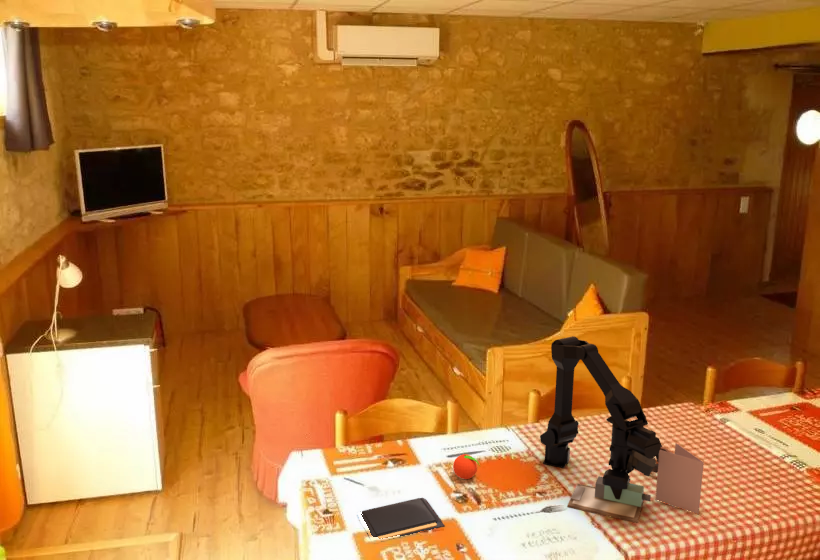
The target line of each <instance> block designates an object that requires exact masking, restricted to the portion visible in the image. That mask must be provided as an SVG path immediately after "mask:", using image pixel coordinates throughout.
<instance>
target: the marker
mask: <svg viewBox="0 0 820 560" xmlns="http://www.w3.org/2000/svg"><path fill="white" fill-rule="evenodd" d="M602 483H603V476H598V477H597V479H596V481H595V485H594V487H595V497H598V498H602V499H607V500H611V501H616V502H620V503H625V504H629V505H634V506H638V507H641V505H642V501H643V500H644V501H647V502H651V498H652V495H651V494H648V493H645V492H644V491H645V486H644V485H640V484H636V483H631V482H629V485H628V488H627V489H623V490H622V493H621V497H620V500H618V499H615V497H614V494H613V492H612V490H611V488H610V486H606V485H604V484H602ZM642 506H643V505H642Z"/></svg>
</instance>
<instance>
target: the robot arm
mask: <svg viewBox="0 0 820 560" xmlns="http://www.w3.org/2000/svg"><path fill="white" fill-rule="evenodd" d="M550 347H551V360H552V362H553V363H554V365H555V366H556V373H555V374H556V377H555V392H554V393H555V394H554V408H553V409H554V411H553V414H552V415H551V417H550V418H549V420H548V424H547V428H546V431H545V432H543V433H542V434H540V436H539V439H540V443H541V444H543V446H545V447H544V460H542V464H543V465H547V466H552V467H556V468H557V467H558V468H561V469H562V468H563V469H564V468H566V466H567V464H569V462H570V461H571V459H570V455H571V448H570V447H569V444H570V443H573V442H574V441H575V439H576V438H577V435H578V434H579V424H580V423H579V421H578V420H576V419H575V417H574V415H573V396H574V381H575V370H576V369H575V368H576V366H577V365H578V363H579V362H580V360H581V361H582V363H583V364H584V366H585V367H586V369H587V370H588V372H589V374H590V375H591V376H592V378H593V380H594V381H595V383H596V384H597V386H598V387H599V389H600V390H601V392H602V393H603V395H604V405H605V407H606V409H607V411H608V413H609V415H610V416H609V417H607V418H606V422H608V423H610V424H612V425H611V426H612V427H611V444H610V446H609V452H610V456H609V457H610V458H609V460H608V466H611V468H608V469H606V470H605V471H604V473H603V476H602V477H603V483H602V484H604V485H606V486H610V488H611V490H612V492H613V494H614V497H615V499H618V500H620V497H621V493H622V490H623V489H627V488H628V485H629V483H631V478H630V475H629V474H630V473H631V472H633V471H634V470H636V471H638V472H639V473H641V474H643V476H645V477H650V476H651V474H652V473H653V472H652V470H653V468H654V466H655V464H657V463H656V462H657V459H656V455H657V454H658V453H659V451H660V448H661V445H662V443H661V440H660V438H659V437H657V435H656V434H657V432H655V431H654V430H650V429H648V428H646V427H645V426H648V425H649V422H648V420H647V416H646V414H645V412H644V410H643V408H642V406H641V402H640V401H639V399H638V397H637V396H635V395H634V394H633V392H632V391H631V390H630V389H628V388H626V387H624V386H623V385H622V384H621V383H620V381H619V380H618V379H617V377H616V376H615V374H614V373H613V372H612V369H610V367H609V366H608V364H607V363H606V361H605V360H604V358H603V357H602V355H601V354H600V352H599V348H598V346H597V345H596V344H594V343H589V342H588V341H587V340H584V339H579V338H578V337H576V336H574V335H572V336H568V337H564V338H559V339H554V340H553V341H552V342H551V346H550ZM633 418H636V419H633ZM630 419H633V420H630Z"/></svg>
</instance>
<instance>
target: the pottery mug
mask: <svg viewBox="0 0 820 560" xmlns="http://www.w3.org/2000/svg"><path fill="white" fill-rule="evenodd" d="M660 450H662V451H666V452H669V453H673V454H675V452H672V451H671V450H669V449H668V448H666V447H663V444H661V448H660ZM655 460H656V462H659V453H658V454H657V455H656V456H655ZM651 473H654V474H655V473H657V474H658V463H655V466H654V468H653V470H652V472H651Z"/></svg>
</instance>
